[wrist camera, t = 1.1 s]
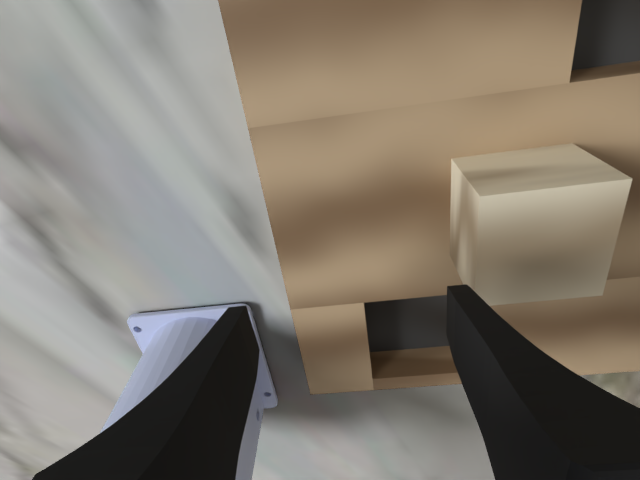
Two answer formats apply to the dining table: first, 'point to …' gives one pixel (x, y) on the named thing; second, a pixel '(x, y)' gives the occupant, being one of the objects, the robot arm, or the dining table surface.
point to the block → (535, 223)
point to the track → (428, 165)
